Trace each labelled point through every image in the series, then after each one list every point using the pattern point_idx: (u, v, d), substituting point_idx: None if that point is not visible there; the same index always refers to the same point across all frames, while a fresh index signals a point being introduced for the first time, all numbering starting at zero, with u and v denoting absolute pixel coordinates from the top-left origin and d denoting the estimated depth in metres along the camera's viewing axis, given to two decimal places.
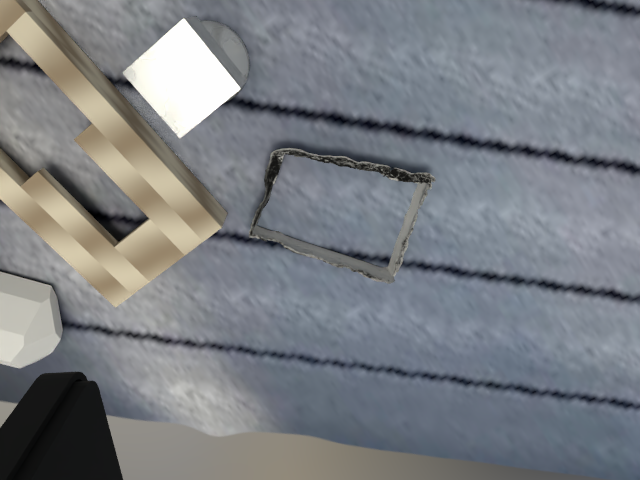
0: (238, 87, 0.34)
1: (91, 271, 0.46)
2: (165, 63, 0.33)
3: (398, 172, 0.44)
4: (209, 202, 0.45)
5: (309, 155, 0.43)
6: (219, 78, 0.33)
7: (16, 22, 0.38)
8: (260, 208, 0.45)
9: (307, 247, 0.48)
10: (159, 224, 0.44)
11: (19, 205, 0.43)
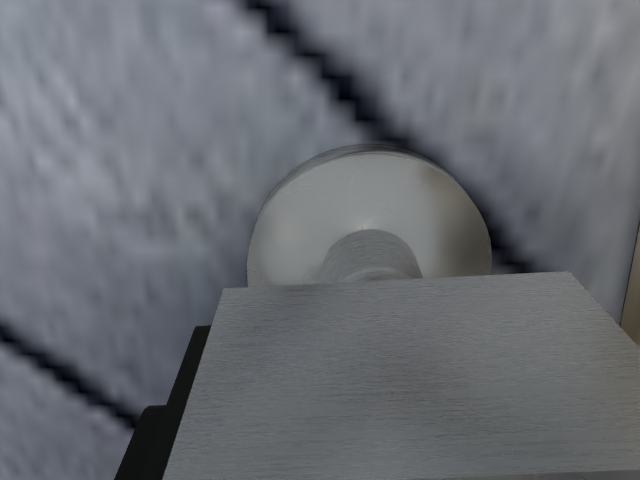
0: None
1: None
2: None
3: None
4: None
5: None
6: None
7: None
8: None
9: None
10: None
11: None
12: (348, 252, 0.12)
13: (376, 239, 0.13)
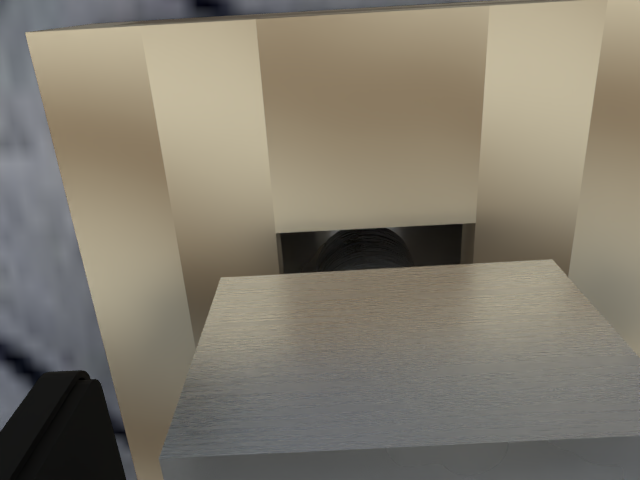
0: (167, 467, 0.05)
1: (634, 196, 0.11)
2: None
3: None
4: None
5: None
6: None
7: None
8: None
9: None
10: (256, 198, 0.11)
11: None
12: (343, 245, 0.13)
13: (370, 233, 0.13)
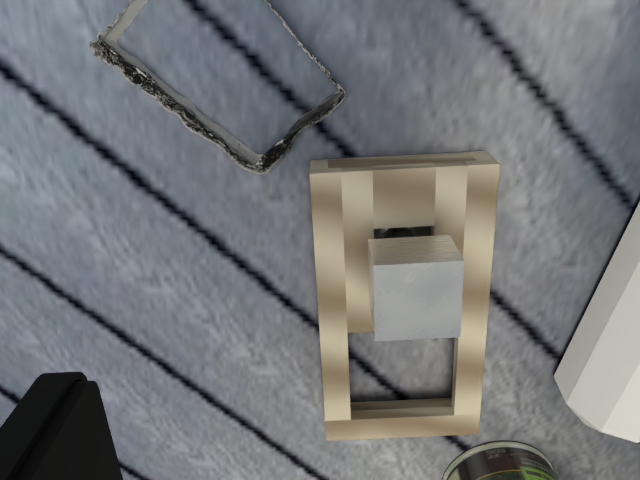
0: (374, 267, 0.31)
1: (481, 217, 0.36)
2: (418, 322, 0.32)
3: (132, 76, 0.34)
4: None
5: (226, 150, 0.36)
6: (384, 284, 0.31)
7: (338, 419, 0.43)
8: (313, 121, 0.35)
9: (290, 30, 0.34)
10: (368, 218, 0.36)
11: (477, 314, 0.39)
12: (392, 233, 0.38)
13: (401, 228, 0.39)
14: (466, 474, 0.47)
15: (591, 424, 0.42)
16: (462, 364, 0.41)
